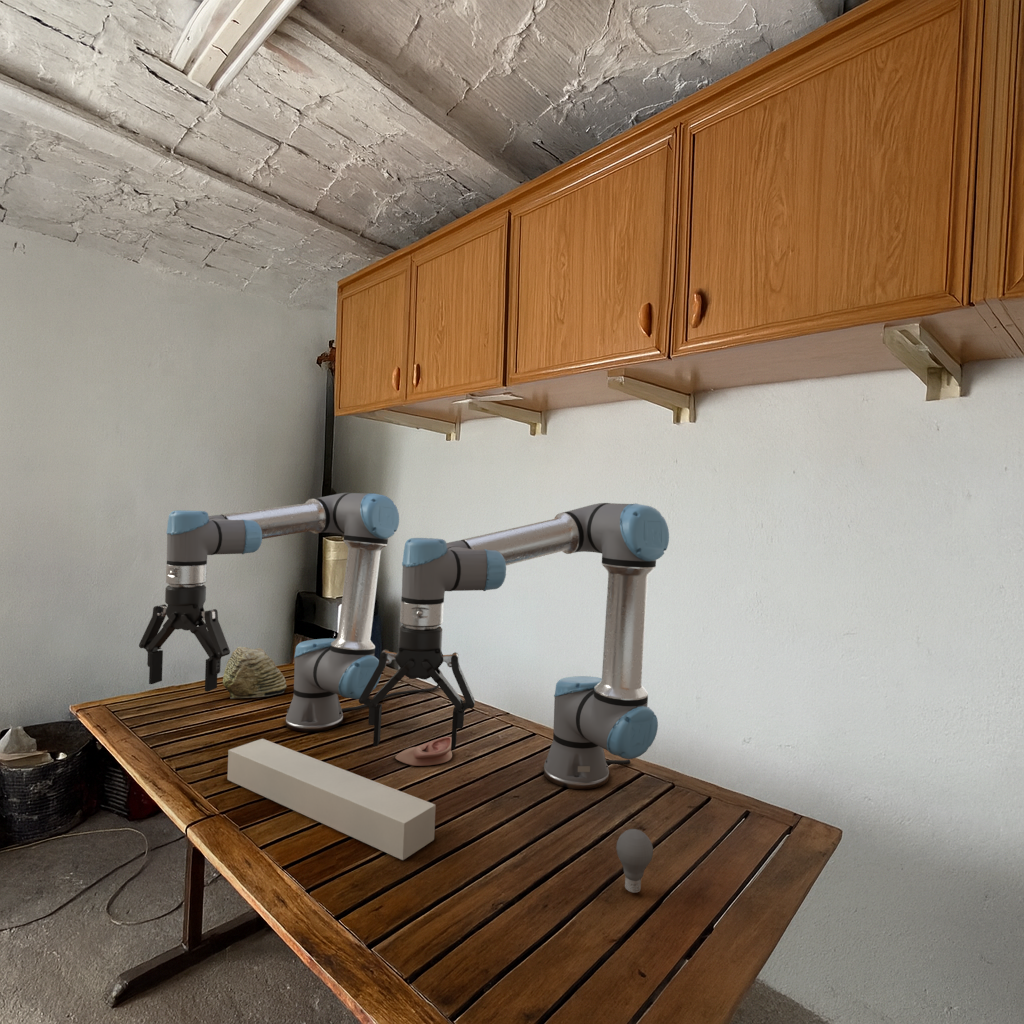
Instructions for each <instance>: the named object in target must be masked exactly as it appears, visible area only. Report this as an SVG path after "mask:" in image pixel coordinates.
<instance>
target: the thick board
mask: <svg viewBox="0 0 1024 1024" xmlns="http://www.w3.org/2000/svg"><path fill="white" fill-rule="evenodd" d="M227 753H228V754H227V776H226V777H227V778H226V779H227V781H229V782H231V783H233V784H235V785H237V786H240V787H241V788H245V789H246V790H248V791H250V792H253V793H255V794H257V795H260V796H262V797H264V798H266V799H268V800H271V801H273V802H274V803H277V804H279V805H281V806H283V807H286V808H288V809H290V810H292V811H294V812H296V813H298V814H301V815H303V816H305V817H307V818H309V819H311V820H314V821H316V822H318V823H321V824H323V825H325V826H326V827H329V828H332V829H333V830H335V831H337V832H340V833H342V834H344V835H346V836H348V837H351V838H353V839H356V840H357V841H360V842H361V843H364V844H366V845H368V846H370V847H372V848H375V849H377V850H380V851H381V852H383V853H386V854H388V855H390V856H392V857H395V858H396V859H399V860H400V861H405V860H406V859H407V858H409V857H411V856H412V855H414V854H415V853H416V852H418V851H420V850H421V849H423V848H424V847H425V846H428V845H429V844H430V843H431V842H434V840H435V832H436V809H437V806H436V804H435V803H432V802H430V801H427V800H424V799H422V798H420V797H417V796H414V795H411V794H409V793H406V792H403V791H401V790H398V789H396V788H393V787H390V786H387V785H385V784H384V783H383V784H382V783H380V782H378V781H375V780H372V779H369V778H366V777H365V776H361V775H359V774H356V773H354V772H351V771H349V770H347V769H343V768H341V767H338V766H335V765H334V764H330V763H328V762H325V761H322V760H320V759H317V758H315V757H312V756H309V755H307V754H304V753H301V752H300V751H296V750H294V749H291V748H288V747H285V746H283V745H281V744H278V743H275V742H273V741H270V740H267V739H265V738H260V739H257V740H254V741H250V742H247V743H244V744H241V745H238V746H235V747H232V748H230V749H228V750H227Z"/></svg>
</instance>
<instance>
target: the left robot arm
mask: <svg viewBox="0 0 1024 1024" xmlns="http://www.w3.org/2000/svg"><path fill="white" fill-rule="evenodd" d="M399 525H400V513H399V509H398V508H397V505H396V504H395V503H394V501H393V499H391V498H390V497H388V496H387V495H384V494H378V493H374V492H372V493H371V492H369V493H367V492H366V493H365V492H364V493H362V492H341V493H340V492H339V493H335V494H330V495H326V496H321V497H315V498H309V499H307V500H306V501H305V503H297V504H290V505H282V506H275V507H267V508H260V509H259V508H258V509H253V510H245V511H237V512H236V511H235V512H229V513H221V514H214V515H209V513H208V512H207V511H205V510H183V509H182V510H181V509H180V510H172V511H171V512H170V513H169V514H168V519H167V528H166V567H165V568H166V569H165V583H166V584H168V585H167V586H166V587H165V591H164V592H165V594H164V602H165V604H159V605H155V606H153V608H152V614H151V618H150V620H149V622H148V624H147V626H146V629H145V631H144V633H143V635H142V637H141V639H140V642H139V644H138V647H139V649H144V650H145V651H146V652H147V662H146V664H147V667H148V668H149V672H148V684H149V685H154V684H158V683H160V682H162V681H163V665H164V664H163V662H164V661H163V659H164V658H163V657H164V650H163V649H162V646H163V645H164V643H166V641H167V640H168V639H169V638H170V636H172V634H173V633H174V631H175V630H182V631H186V632H187V631H189V632H190V633H191V634H193V635H194V636H195V638H196V640H197V641H198V642H199V644H200V645H201V647H202V648H203V650H204V652H205V653H206V655H207V656H208V658H207V659H205V668H204V669H205V671H204V672H205V673H204V676H205V677H204V692H211V691H213V690H215V689H218V675H219V674H220V673H221V664H222V661H221V660H222V658H223V657H225V656H228V655H230V654H231V649H230V648H229V644H228V642H227V639H226V637H225V634H224V631H223V629H222V626H221V624H220V621H219V614H218V613H219V612H218V610H217V609H216V608H214V609H209V610H205V608H204V605H205V602H206V601H207V599H206V598H207V586H206V583H207V577H208V575H207V574H208V573H207V572H208V570H207V569H208V556H214V555H245V554H251V553H255V552H257V551H258V550H259V549H260V547H261V545H262V542H263V540H265V539H271V538H277V537H282V536H283V537H284V536H290V535H294V534H300V533H306V532H310V533H311V534H315V535H317V534H322V533H330V534H342V535H343V543H344V545H346V546H347V557H346V564H345V565H346V566H345V574H344V580H343V589H342V597H341V607H340V614H339V623H338V629H337V630H338V631H337V637H336V638H331V637H329V638H317V639H316V638H315V639H308V640H304V641H300V642H299V643H298V644H297V645H296V646H295V650H294V651H295V652H294V655H293V658H294V672H293V695H292V696H293V697H292V699H291V702H290V704H289V708H287V709H286V715H285V726H286V728H287V729H289V730H291V731H294V732H295V731H296V732H301V733H316V732H325V731H329V730H332V729H335V728H337V727H339V726H340V725H342V723H343V722H344V714H343V712H350V711H357V710H361V709H364V708H367V707H368V706H367V705H365V704H360V705H357V706H350V707H343V708H342V706H341V702H340V699H339V696H341V697H343V698H345V699H352V700H359V698H360V696H361V695H362V693H363V691H364V689H365V688H366V686H367V684H368V682H369V680H370V679H371V677H372V675H373V673H374V672H375V670H376V668H377V666H378V664H379V658H377V657H376V656H375V653H376V645H375V644H374V643H373V641H372V640H371V637H372V629H373V622H374V614H375V613H374V612H375V603H376V597H377V595H376V594H377V586H378V578H379V571H380V562H381V553H382V550H384V548H386V547H388V542H389V538H391V537H392V536H394V535H395V532H397V531H398V528H399ZM166 617H167V620H166V621H165V619H166ZM164 621H165V622H164ZM161 649H162V650H161ZM381 677H382V674H381V675H380V677H379V679H378V681H377V683H376V684H375V686H374V688H373V690H375V689H376V688H377V686H378V684H379V682H380V680H381ZM439 688H440V687H439V685H438V684H437V683H436V685H435V686H433V687H430V688H422V689H421V688H420V689H419V688H418V689H411V690H410V689H409V690H404V691H396V692H390V693H387V694H386V696H385V697H384V698H383V699H382V700H381V701H383V700H385V699H387V698H391V697H395V696H400V695H408V694H409V695H410V694H415V693H416V694H417V693H427V692H434V691H437V689H439ZM373 690H372V691H371V693H372V692H373Z"/></svg>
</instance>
